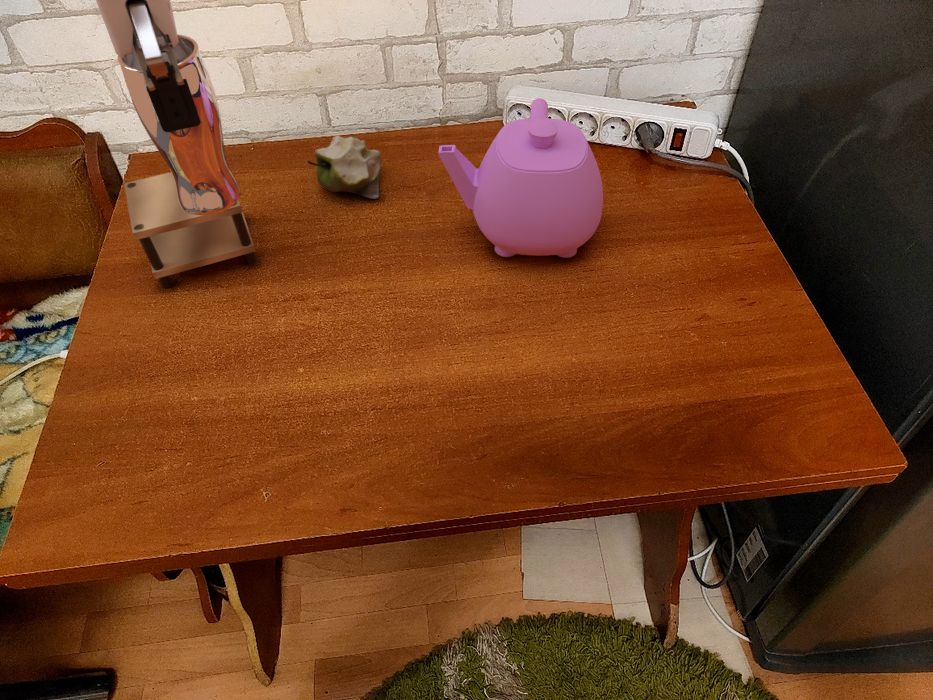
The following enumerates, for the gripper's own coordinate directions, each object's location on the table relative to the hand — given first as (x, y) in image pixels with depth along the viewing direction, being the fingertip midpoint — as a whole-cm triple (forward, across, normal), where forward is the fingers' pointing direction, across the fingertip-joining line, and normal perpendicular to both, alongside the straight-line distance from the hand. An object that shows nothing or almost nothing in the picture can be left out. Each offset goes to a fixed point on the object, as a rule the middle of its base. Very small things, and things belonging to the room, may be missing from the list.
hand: (176, 104), depth 61 cm
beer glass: (+10, 0, 0) cm, 10 cm away
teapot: (+26, -1, +36) cm, 44 cm away
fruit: (+26, -18, +17) cm, 36 cm away
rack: (+26, -11, -4) cm, 28 cm away
